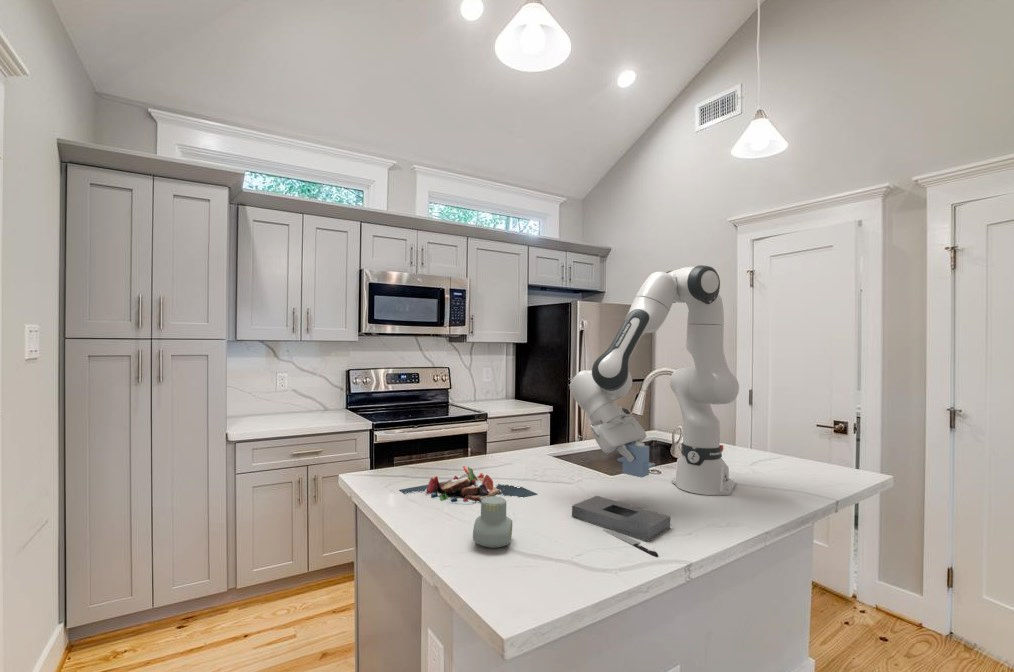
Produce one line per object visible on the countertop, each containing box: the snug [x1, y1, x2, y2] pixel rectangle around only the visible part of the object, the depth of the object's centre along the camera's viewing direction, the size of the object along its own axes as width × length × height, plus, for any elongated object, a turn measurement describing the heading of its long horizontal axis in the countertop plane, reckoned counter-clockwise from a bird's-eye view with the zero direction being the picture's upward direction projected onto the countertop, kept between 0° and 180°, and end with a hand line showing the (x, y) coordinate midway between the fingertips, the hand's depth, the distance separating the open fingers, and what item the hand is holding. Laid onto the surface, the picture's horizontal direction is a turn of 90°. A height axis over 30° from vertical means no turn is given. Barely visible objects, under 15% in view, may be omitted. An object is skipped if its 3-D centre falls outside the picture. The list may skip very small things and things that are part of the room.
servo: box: [617, 442, 656, 479], centre depth 139 cm, size 4×10×9 cm, turn 47°
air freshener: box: [472, 495, 513, 549], centre depth 115 cm, size 11×8×10 cm
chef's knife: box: [602, 529, 659, 558], centre depth 118 cm, size 19×1×3 cm
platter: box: [398, 465, 539, 506], centre depth 152 cm, size 35×27×9 cm
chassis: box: [571, 495, 671, 543], centre depth 130 cm, size 12×22×3 cm, turn 47°
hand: (637, 458), depth 139 cm, fingers closed on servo, 4 cm apart
